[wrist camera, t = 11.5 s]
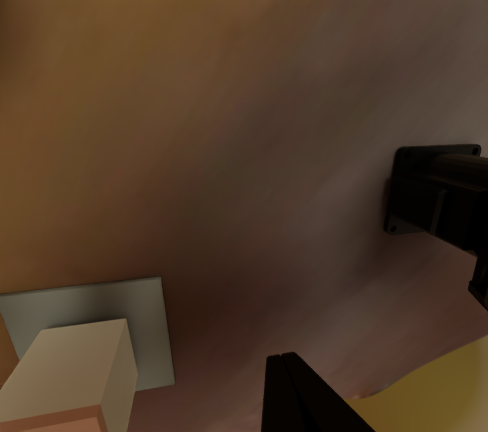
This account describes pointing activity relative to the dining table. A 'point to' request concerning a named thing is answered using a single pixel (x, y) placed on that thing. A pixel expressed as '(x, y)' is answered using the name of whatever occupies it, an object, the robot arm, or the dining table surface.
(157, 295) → the grey flat square slab
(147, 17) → the dining table surface
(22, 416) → the cream orange-topped box
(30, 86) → the dining table surface
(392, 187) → the robot arm
